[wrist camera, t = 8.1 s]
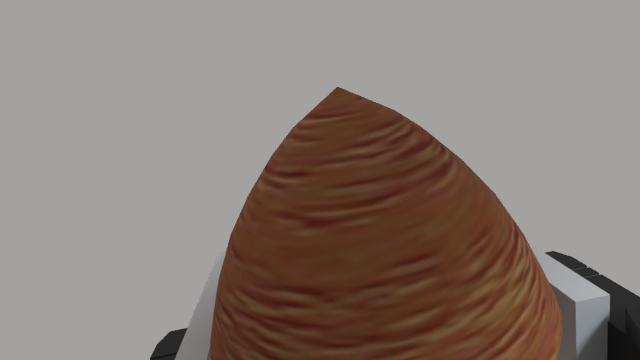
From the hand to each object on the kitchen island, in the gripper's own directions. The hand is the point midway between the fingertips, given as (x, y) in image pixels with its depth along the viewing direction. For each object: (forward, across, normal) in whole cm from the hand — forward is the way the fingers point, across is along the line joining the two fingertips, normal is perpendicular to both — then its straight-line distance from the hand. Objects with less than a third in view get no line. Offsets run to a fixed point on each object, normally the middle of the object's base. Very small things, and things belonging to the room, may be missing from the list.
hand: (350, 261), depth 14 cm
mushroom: (-5, 0, -9) cm, 10 cm away
